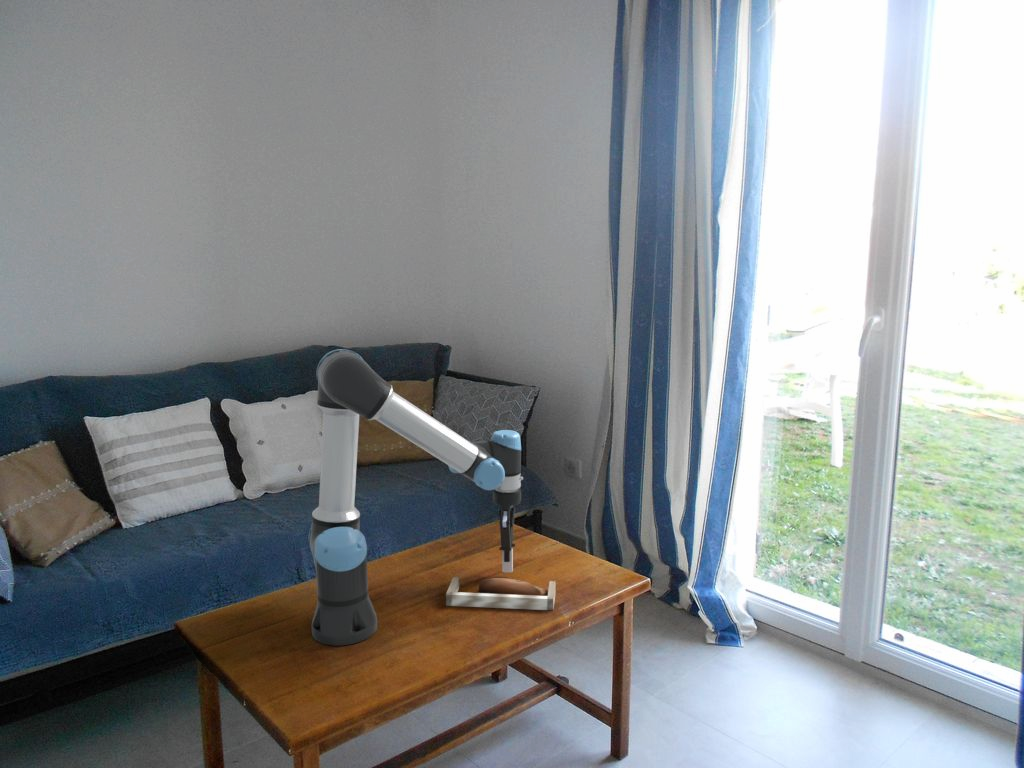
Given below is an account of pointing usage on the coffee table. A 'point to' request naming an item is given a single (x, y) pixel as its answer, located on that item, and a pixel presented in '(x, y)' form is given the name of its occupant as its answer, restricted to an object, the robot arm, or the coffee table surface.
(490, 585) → the sunglasses case
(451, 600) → the bracket
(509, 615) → the coffee table surface
